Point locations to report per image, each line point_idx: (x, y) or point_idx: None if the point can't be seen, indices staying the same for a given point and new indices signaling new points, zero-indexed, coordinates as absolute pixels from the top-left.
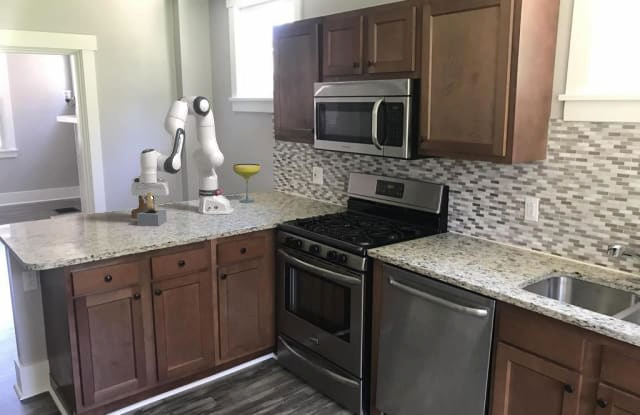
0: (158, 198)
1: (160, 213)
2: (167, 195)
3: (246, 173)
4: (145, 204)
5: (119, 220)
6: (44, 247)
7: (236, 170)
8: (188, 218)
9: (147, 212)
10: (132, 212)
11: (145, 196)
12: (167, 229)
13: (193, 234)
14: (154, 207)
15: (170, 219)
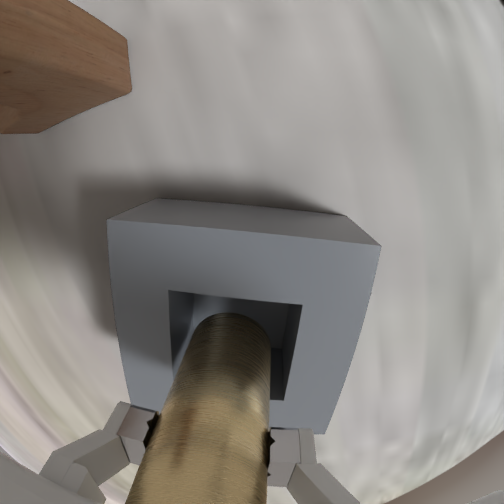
0: (343, 489)
1: (340, 389)
2: (490, 499)
3: None
4: (46, 74)
5: (6, 208)
6: None
7: None
8: (480, 113)
9: (172, 311)
10: (13, 132)
11: (90, 483)
12: (377, 417)
13: (465, 444)
14: (269, 399)
15: (361, 134)
